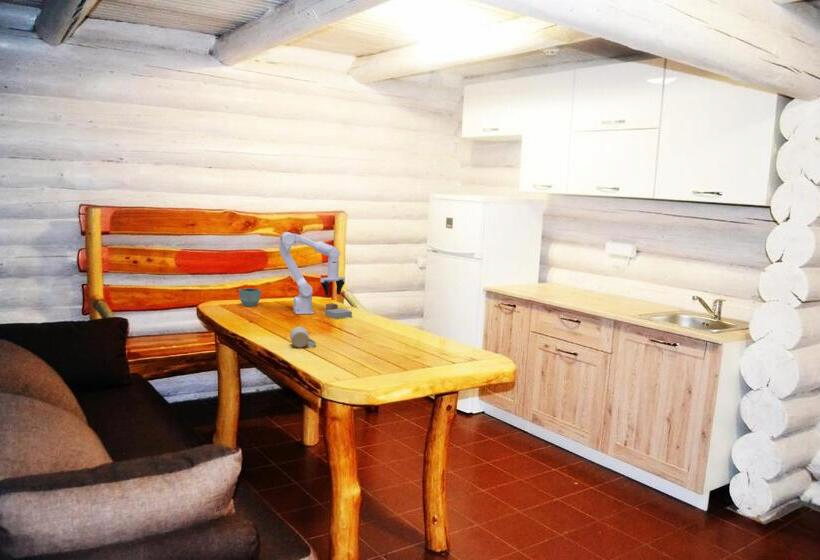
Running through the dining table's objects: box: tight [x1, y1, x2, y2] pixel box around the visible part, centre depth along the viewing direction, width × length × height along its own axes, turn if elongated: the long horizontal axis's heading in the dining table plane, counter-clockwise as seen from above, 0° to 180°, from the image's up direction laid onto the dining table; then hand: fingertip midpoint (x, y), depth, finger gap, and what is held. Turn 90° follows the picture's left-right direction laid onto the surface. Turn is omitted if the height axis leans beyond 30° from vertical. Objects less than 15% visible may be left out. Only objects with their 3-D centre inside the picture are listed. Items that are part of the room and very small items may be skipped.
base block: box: [324, 308, 353, 320], centre depth 355 cm, size 10×10×3 cm
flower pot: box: [238, 287, 262, 308], centre depth 376 cm, size 9×9×9 cm
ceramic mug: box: [289, 326, 317, 348], centre depth 288 cm, size 11×8×8 cm
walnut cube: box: [325, 303, 339, 310], centre depth 366 cm, size 4×4×4 cm
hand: (332, 294), depth 366 cm, fingers open, 7 cm apart
